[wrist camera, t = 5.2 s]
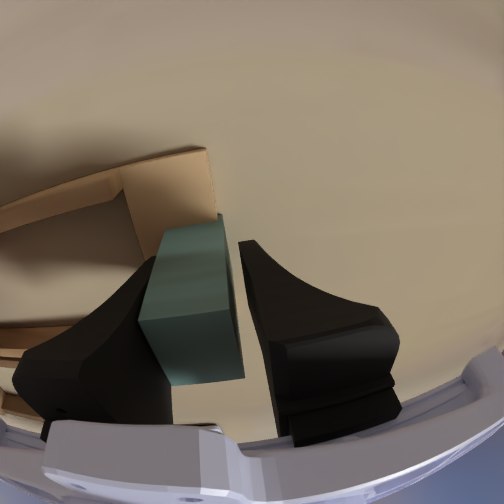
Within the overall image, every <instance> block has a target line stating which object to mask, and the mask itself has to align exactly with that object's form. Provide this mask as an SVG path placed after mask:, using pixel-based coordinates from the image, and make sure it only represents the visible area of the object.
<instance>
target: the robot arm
mask: <svg viewBox="0 0 504 504" xmlns="http://www.w3.org/2000/svg"><path fill="white" fill-rule="evenodd" d="M238 245H239V251H240V257H241V263H242V270H243V276H244V282H245V288H246V294H247V300H248V306H249V309H250V313H251V316H252V320H253V323H254V326H255V330H256V333H257V336H258V340H259V343H260V346H261V350H262V354H263V359H264V364H265V369H266V375H267V380H268V385H269V391H270V396H271V401H272V407H273V412H274V417H275V423H276V428H277V433H278V438H274V439H268V440H261V441H255V442H247V443H239V444H236V443H235V442H234V441H232V440H231V439H229V438H228V437H227V436H225V435H224V434H223V433H222V431H221V429H220V427H218V426H202V427H198V426H183V425H173V415H172V397H171V383H170V381H169V380H168V378H167V376H166V374H165V373H164V371H163V369H162V367H161V365H160V364H159V362H158V360H157V358H156V356H155V354H154V352H153V350H152V348H151V346H150V345H149V343H148V341H147V339H146V337H145V335H144V333H143V331H142V329H141V326H140V324H139V322H138V318H139V315H140V311H141V307H142V304H143V300H144V296H145V293H146V289H147V286H148V282H149V279H150V276H151V272H152V269H153V266H154V263H155V260H156V256H157V255H156V256H151V257H150V258H149V259H148V260H147V261H145V262H144V263H143V264H142V266H141V267H140V268H139V269H138V270H137V271H136V272H135V273H134V274H133V275H132V276H131V277H130V278H129V279H128V280H127V281H126V282H125V283H124V284H123V285H122V286H121V287H120V288H119V289H118V290H117V291H116V292H115V293H114V294H113V295H112V296H111V297H110V298H109V299H107V300H106V301H105V302H104V303H103V304H102V305H100V306H99V307H98V308H97V309H96V310H94V311H93V312H92V313H90V314H89V315H88V316H86V317H85V318H83V319H82V320H81V321H79V322H78V323H76V324H75V325H73V326H72V327H70V328H69V329H67V330H65V331H64V332H62V333H60V334H59V335H57V336H55V337H53V338H51V339H49V340H48V341H46V342H43V343H41V344H39V345H37V346H35V347H33V348H30V349H28V350H26V351H24V353H23V355H22V357H21V359H20V361H19V363H18V365H17V368H16V370H15V372H14V374H13V377H12V382H13V386H14V388H15V390H16V391H17V393H18V394H19V395H20V397H21V398H22V399H23V400H24V401H25V402H26V403H27V404H28V405H29V406H30V407H31V408H32V409H33V410H34V411H35V412H36V413H37V414H39V415H40V416H41V417H42V418H43V419H44V420H45V421H44V424H43V428H42V432H41V434H39V433H35V432H31V431H27V430H23V429H20V428H16V427H13V426H9V425H7V424H6V423H5V422H4V421H3V420H2V419H1V418H0V480H1V481H2V482H4V483H6V484H8V485H10V486H12V487H14V488H16V489H18V490H20V491H23V492H25V493H27V494H29V495H32V496H34V497H36V498H39V499H41V500H44V501H46V502H49V503H51V504H367V503H370V502H373V501H375V500H378V499H380V498H383V497H385V496H387V495H390V494H392V493H394V492H396V491H399V490H401V489H403V488H405V487H407V486H409V485H411V484H413V483H415V482H417V481H419V480H421V479H423V478H425V477H427V476H429V475H431V474H432V473H434V472H436V471H438V470H440V469H441V468H443V467H445V466H446V465H448V464H450V463H451V462H453V461H454V460H456V459H458V458H459V457H461V456H462V455H464V454H465V453H467V452H468V451H470V450H471V449H473V448H474V447H476V446H477V445H479V444H480V443H482V442H483V441H484V440H486V439H487V438H488V437H490V436H491V435H492V434H494V433H495V432H496V431H497V430H498V429H499V428H500V427H501V426H502V425H503V424H504V357H503V355H502V354H501V353H500V351H499V350H498V349H497V348H496V346H493V347H491V348H489V349H488V350H486V351H484V352H482V353H481V354H479V355H477V356H475V357H474V358H473V359H472V360H470V361H469V362H468V364H467V365H466V366H465V368H464V370H463V372H462V374H461V375H460V376H458V377H456V378H455V379H453V380H451V381H449V382H447V383H445V384H443V385H441V386H438V387H436V388H434V389H432V390H430V391H428V392H426V393H423V394H421V395H419V396H416V397H414V398H412V399H409V400H407V401H404V402H402V403H400V402H399V400H398V398H397V396H396V394H395V392H394V390H393V388H392V387H394V385H395V381H394V379H393V377H392V375H391V373H390V371H391V369H392V366H393V363H394V361H395V358H396V356H397V353H398V350H399V345H400V340H399V335H398V334H397V332H396V330H395V329H394V327H393V326H392V324H391V323H390V321H389V320H388V318H387V317H386V316H385V315H384V314H383V312H382V311H381V310H380V309H379V308H378V307H375V306H370V305H366V304H362V303H357V302H353V301H349V300H346V299H343V298H340V297H337V296H334V295H332V294H329V293H327V292H324V291H322V290H320V289H318V288H315V287H313V286H311V285H309V284H307V283H305V282H304V281H302V280H300V279H299V278H297V277H295V276H294V275H292V274H291V273H290V272H288V271H287V270H286V269H284V268H283V267H282V266H281V265H279V264H278V263H277V262H276V261H275V260H274V259H273V258H271V257H270V256H269V255H268V254H267V253H266V252H265V251H264V250H263V249H262V248H261V246H260V245H259V244H258V243H257V242H256V241H255V240H248V241H241V242H238Z"/></svg>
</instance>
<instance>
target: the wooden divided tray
mask: <svg viewBox="0 0 504 504" xmlns="http://www.w3.org/2000/svg"><path fill="white" fill-rule="evenodd" d="M122 189H123V190H124V194H125V197H126V201H127V205H128V208H129V212H130V215H131V219H132V222H133V225H134V229H135V232H136V235H137V238H138V241H139V245H140V248H141V251H142V254H143V257H144V260H145V261H147V260H148V259H149V258H150V257H151V256H156V255H157V256H156V260H155V263H154V266H153V269H152V272H151V276H150V279H149V282H148V286H147V289H146V293H145V296H144V300H143V304H142V307H141V311H140V315H139V318H138V322H139V324H140V326H141V329H142V331H143V333H144V335H145V337H146V339H147V341H148V343H149V345H150V346H151V348H152V350H153V352H154V354H155V356H156V358H157V360H158V362H159V364H160V365H161V367H162V369H163V371H164V373H165V374H166V376H167V378H168V380H169V381H170V383H171V385H172V386H178V385H190V384H201V383H211V382H220V381H228V380H235V379H242V378H245V373H244V365H243V357H242V349H241V341H240V333H239V325H238V316H237V308H236V299H235V290H234V281H233V273H232V267H231V262H230V256H229V250H228V245H227V239H226V233H225V227H224V222H223V216H222V214H221V215H217V209H216V203H215V198H214V192H213V186H212V180H211V174H210V168H209V162H208V156H207V150H206V148H204V149H198V150H193V151H187V152H182V153H177V154H172V155H167V156H162V157H158V158H153V159H149V160H145V161H140V162H136V163H132V164H128V165H124V166H120V167H116V168H113V169H109V170H105V171H102V172H98V173H95V174H91V175H88V176H85V177H81V178H78V179H75V180H72V181H69V182H66V183H63V184H60V185H57V186H54V187H51V188H48V189H45V190H42V191H40V192H37V193H34V194H32V195H29V196H26V197H24V198H21V199H19V200H16V201H14V202H11V203H9V204H6V205H4V206H2V207H0V233H2V232H5V231H8V230H11V229H14V228H17V227H20V226H23V225H26V224H29V223H32V222H35V221H38V220H42V219H45V218H48V217H52V216H55V215H58V214H62V213H65V212H69V211H73V210H76V209H80V208H84V207H87V206H91V205H95V204H99V203H103V202H107V201H111V200H113V199H114V198H115V196H116V195H117V194H118V193H119V192H120V191H121V190H122ZM72 326H73V325H71V326H56V327H37V328H13V329H0V356H3V357H18V358H21V357H22V355H23V353H24V351H26V350H28V349H30V348H33V347H35V346H37V345H39V344H41V343H43V342H46V341H48V340H49V339H51V338H53V337H55V336H57V335H59V334H60V333H62V332H64V331H65V330H67V329H69V328H70V327H72Z"/></svg>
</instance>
